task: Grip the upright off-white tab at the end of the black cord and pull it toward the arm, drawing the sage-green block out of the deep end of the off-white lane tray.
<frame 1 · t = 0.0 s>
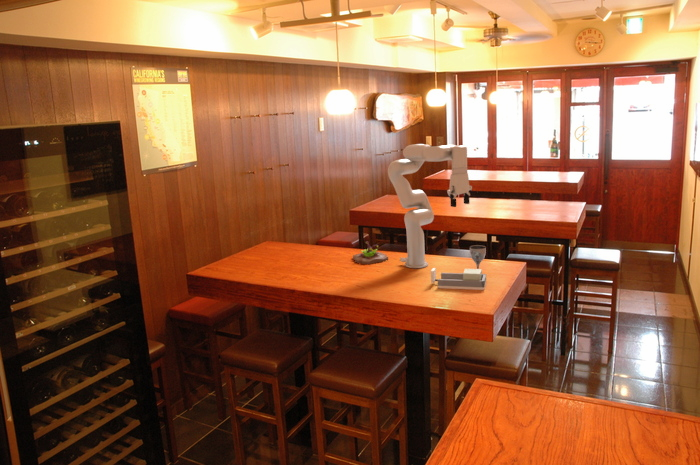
hand: (460, 205, 283), 37 cm above the table, tool pointing down, fingers open, 9 cm apart
plant: (369, 260, 335), on the table
lane tray: (462, 285, 278), on the table
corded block: (456, 276, 278), point 4 cm above the table, slide at 0.0 cm
wine glass: (478, 275, 292), on the table
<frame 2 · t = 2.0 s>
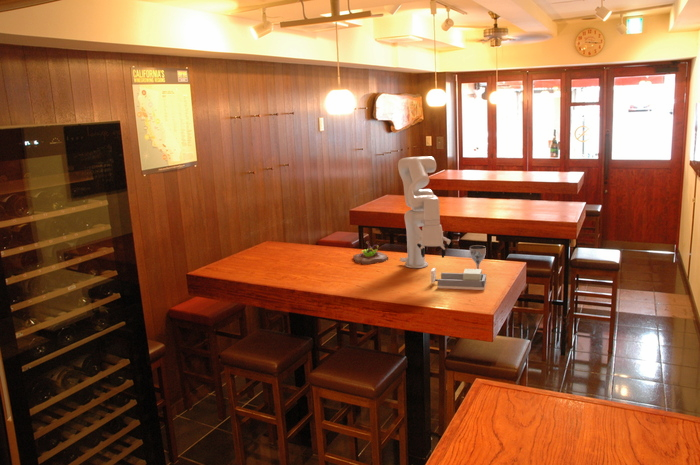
hand: (433, 256, 279), 14 cm above the table, tool pointing down, fingers open, 9 cm apart
nothing on the table moved.
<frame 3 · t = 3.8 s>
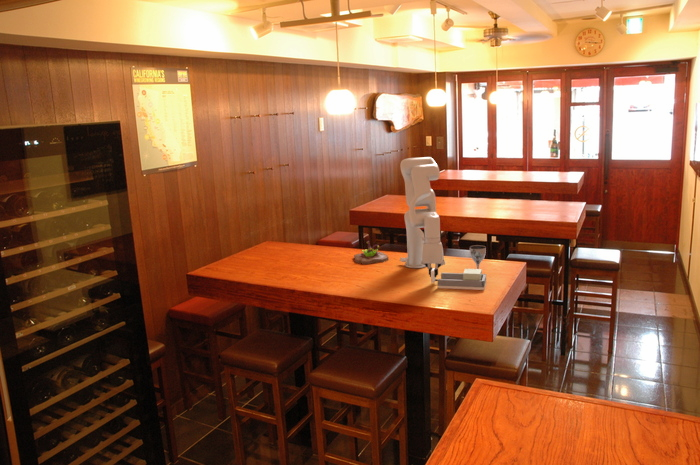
hand: (433, 276, 281), 4 cm above the table, tool pointing down, fingers closed on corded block
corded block: (456, 276, 278), point 4 cm above the table, slide at 0.0 cm, touching gripper
everything else where it was.
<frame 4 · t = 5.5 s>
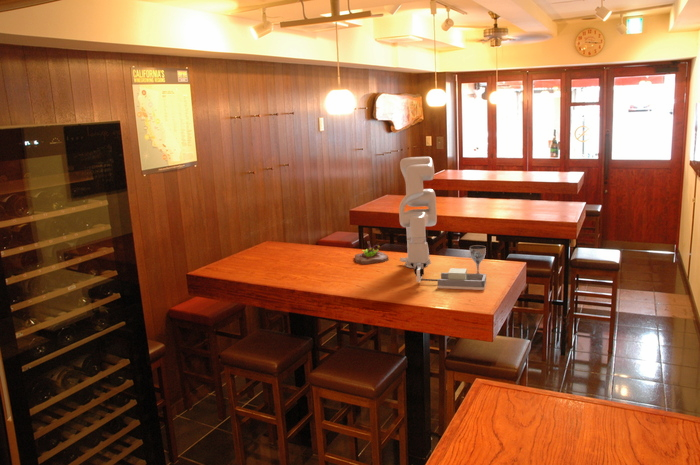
hand: (419, 275, 283), 4 cm above the table, tool pointing down, fingers closed on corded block
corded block: (441, 275, 280), point 4 cm above the table, slide at 7.1 cm, touching gripper
everything else where it was.
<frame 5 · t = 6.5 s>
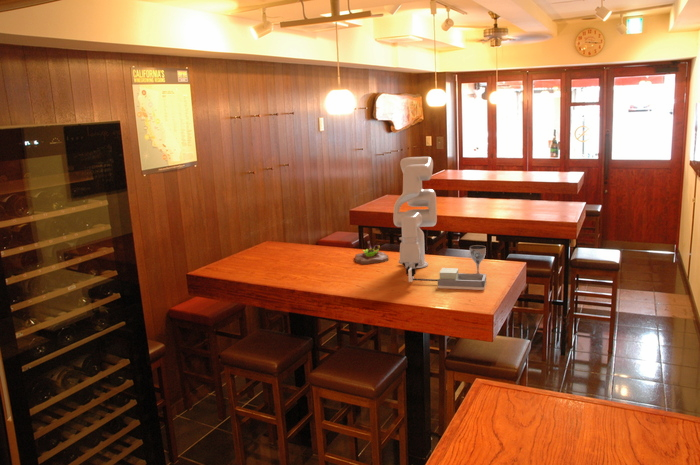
hand: (411, 275, 285), 4 cm above the table, tool pointing down, fingers closed on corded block
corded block: (433, 275, 281), point 4 cm above the table, slide at 11.3 cm, touching gripper
everything else where it was.
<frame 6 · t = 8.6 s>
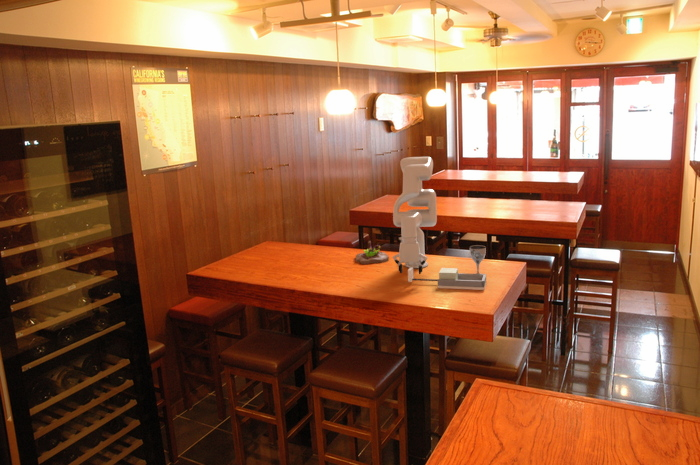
hand: (410, 272, 285), 5 cm above the table, tool pointing down, fingers open, 9 cm apart
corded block: (432, 275, 281), point 4 cm above the table, slide at 11.5 cm
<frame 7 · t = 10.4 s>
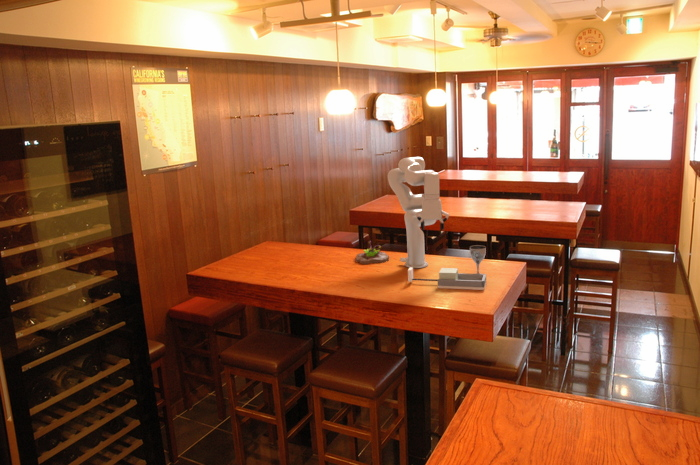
hand: (432, 229, 290), 25 cm above the table, tool pointing down, fingers open, 9 cm apart
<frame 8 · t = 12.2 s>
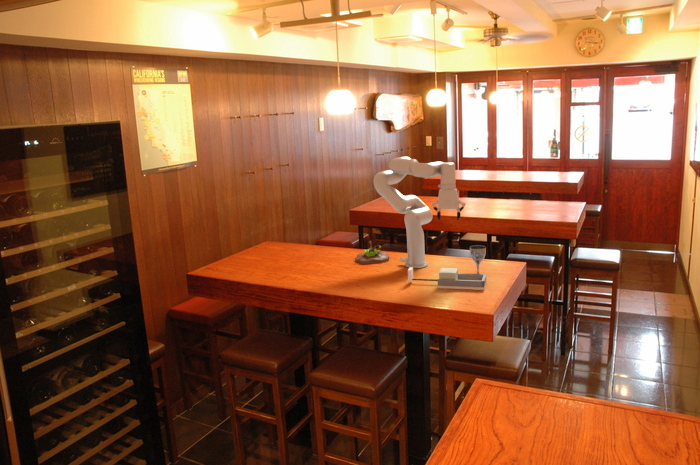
hand: (448, 219, 295), 28 cm above the table, tool pointing down, fingers open, 9 cm apart
at the end: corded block slide at 11.5 cm; the gripper is holding nothing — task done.
